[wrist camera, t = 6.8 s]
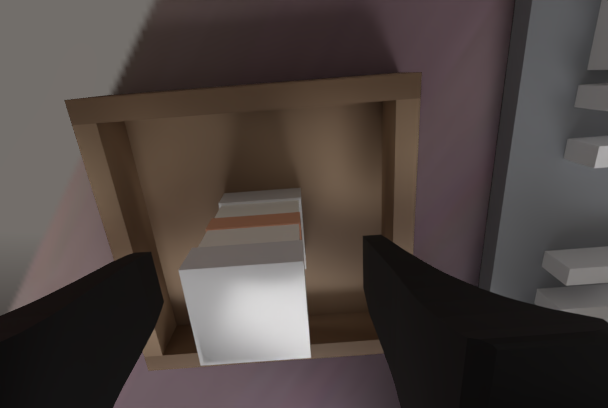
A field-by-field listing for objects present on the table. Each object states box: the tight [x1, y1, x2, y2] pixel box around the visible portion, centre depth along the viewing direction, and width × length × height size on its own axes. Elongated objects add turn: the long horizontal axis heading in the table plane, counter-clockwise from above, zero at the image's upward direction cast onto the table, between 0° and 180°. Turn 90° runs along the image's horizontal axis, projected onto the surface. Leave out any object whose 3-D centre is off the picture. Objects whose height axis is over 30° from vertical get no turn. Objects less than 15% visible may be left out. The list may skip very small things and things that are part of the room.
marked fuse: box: [178, 188, 311, 366], centre depth 12 cm, size 3×3×6 cm
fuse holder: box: [478, 0, 608, 321], centre depth 14 cm, size 20×8×2 cm, turn 4°
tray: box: [65, 72, 422, 371], centre depth 14 cm, size 12×12×2 cm
